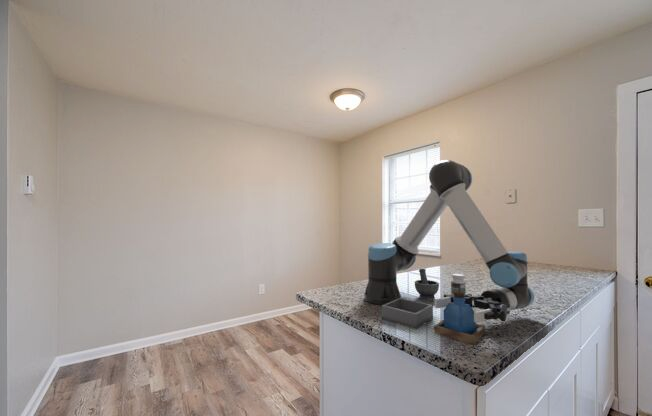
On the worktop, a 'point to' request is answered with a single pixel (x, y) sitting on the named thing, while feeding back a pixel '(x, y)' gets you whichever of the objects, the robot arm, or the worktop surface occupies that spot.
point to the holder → (460, 333)
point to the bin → (407, 312)
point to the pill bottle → (458, 283)
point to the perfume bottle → (459, 315)
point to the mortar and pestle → (426, 287)
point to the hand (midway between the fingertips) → (453, 310)
